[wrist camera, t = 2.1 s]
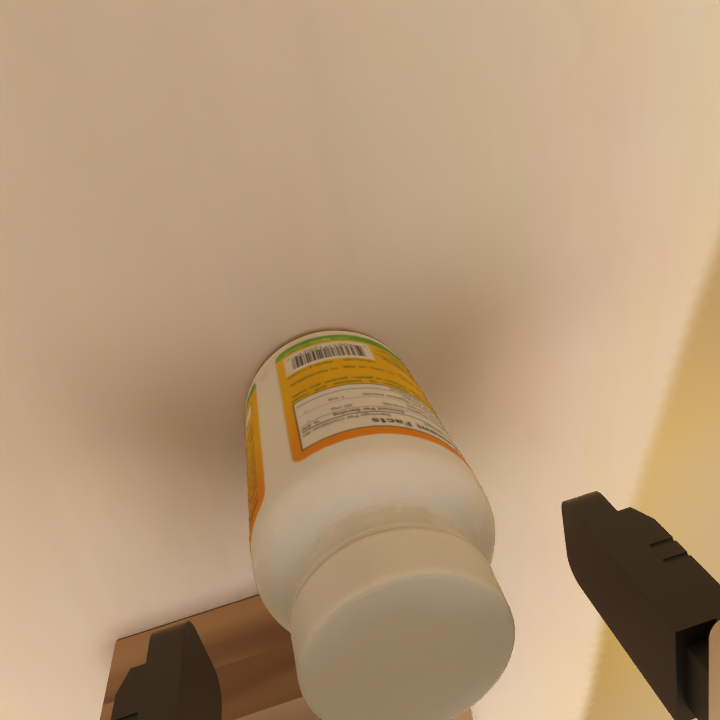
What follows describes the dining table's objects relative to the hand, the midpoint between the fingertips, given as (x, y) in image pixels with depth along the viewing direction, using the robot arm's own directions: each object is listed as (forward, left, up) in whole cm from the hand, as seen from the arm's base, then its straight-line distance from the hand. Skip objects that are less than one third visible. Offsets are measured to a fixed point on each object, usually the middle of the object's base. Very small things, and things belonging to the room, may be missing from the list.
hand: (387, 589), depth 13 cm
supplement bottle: (0, 0, -8) cm, 8 cm away
